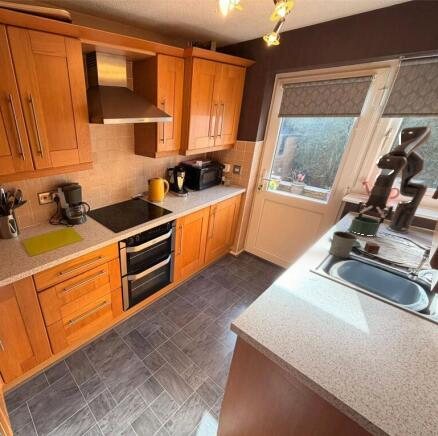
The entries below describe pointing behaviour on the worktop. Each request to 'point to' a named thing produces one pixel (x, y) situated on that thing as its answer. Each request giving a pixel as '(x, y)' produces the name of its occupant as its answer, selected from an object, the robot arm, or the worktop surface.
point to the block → (372, 247)
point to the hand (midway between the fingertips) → (369, 221)
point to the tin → (364, 226)
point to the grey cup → (342, 244)
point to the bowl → (353, 245)
